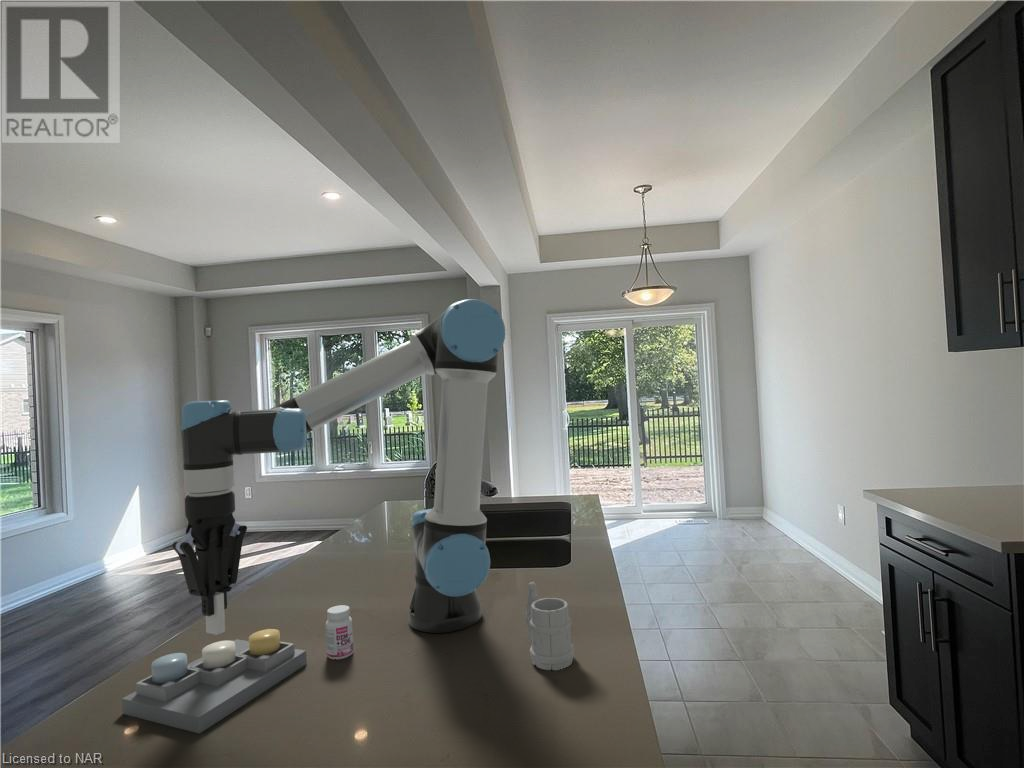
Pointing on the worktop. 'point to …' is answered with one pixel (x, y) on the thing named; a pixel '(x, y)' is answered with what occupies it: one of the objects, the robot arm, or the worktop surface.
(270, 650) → the ochre button
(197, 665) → the panel
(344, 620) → the pill bottle
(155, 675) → the slate button
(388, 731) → the worktop surface
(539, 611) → the mug
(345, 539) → the worktop surface
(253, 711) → the worktop surface
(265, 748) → the worktop surface
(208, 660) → the ivory button
